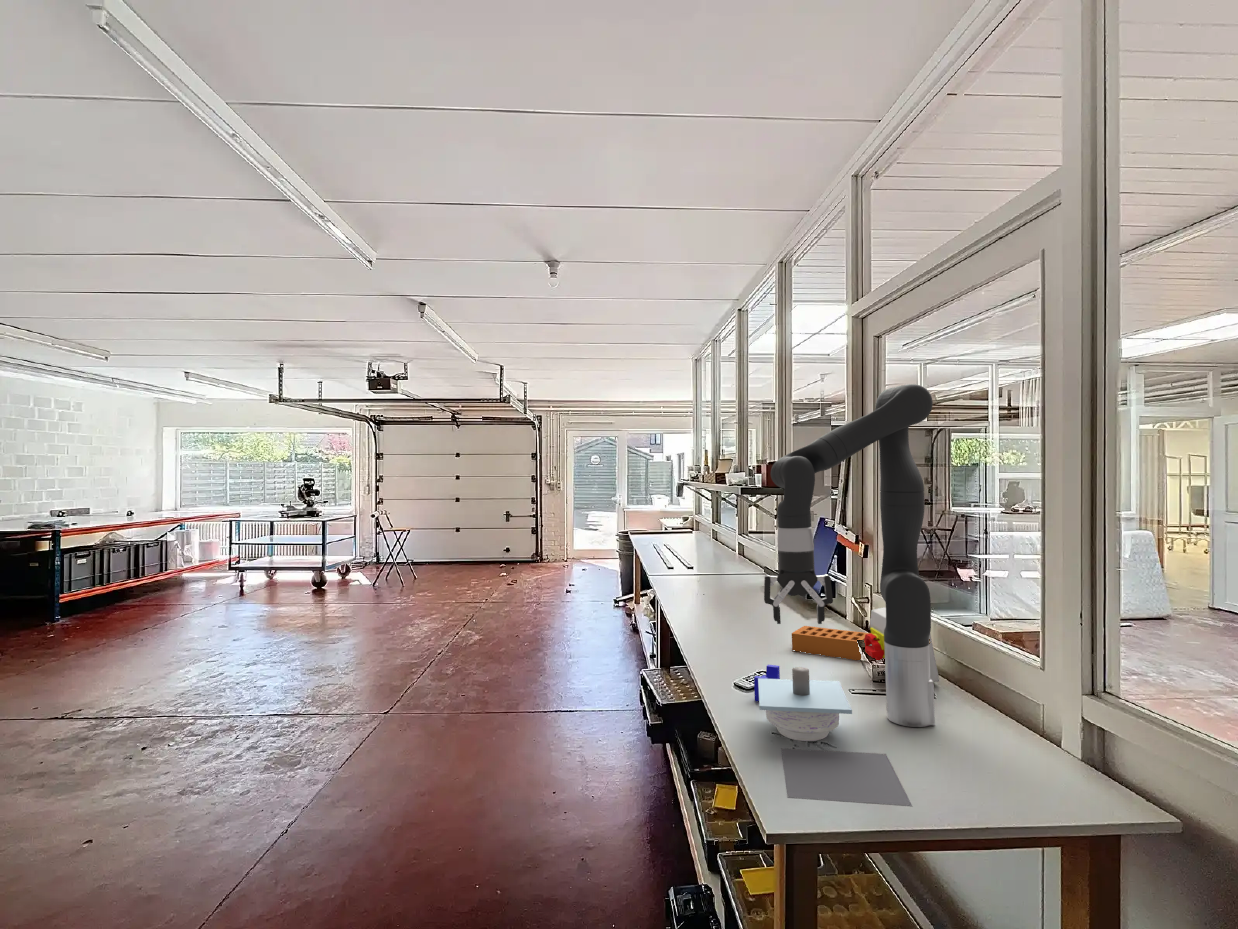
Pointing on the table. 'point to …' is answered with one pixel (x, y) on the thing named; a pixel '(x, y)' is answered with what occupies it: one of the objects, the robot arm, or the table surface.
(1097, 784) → the table surface
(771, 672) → the cable clip
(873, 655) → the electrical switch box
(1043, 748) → the table surface
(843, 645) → the brick
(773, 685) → the sheet
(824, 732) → the paper bowls
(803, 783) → the mat
